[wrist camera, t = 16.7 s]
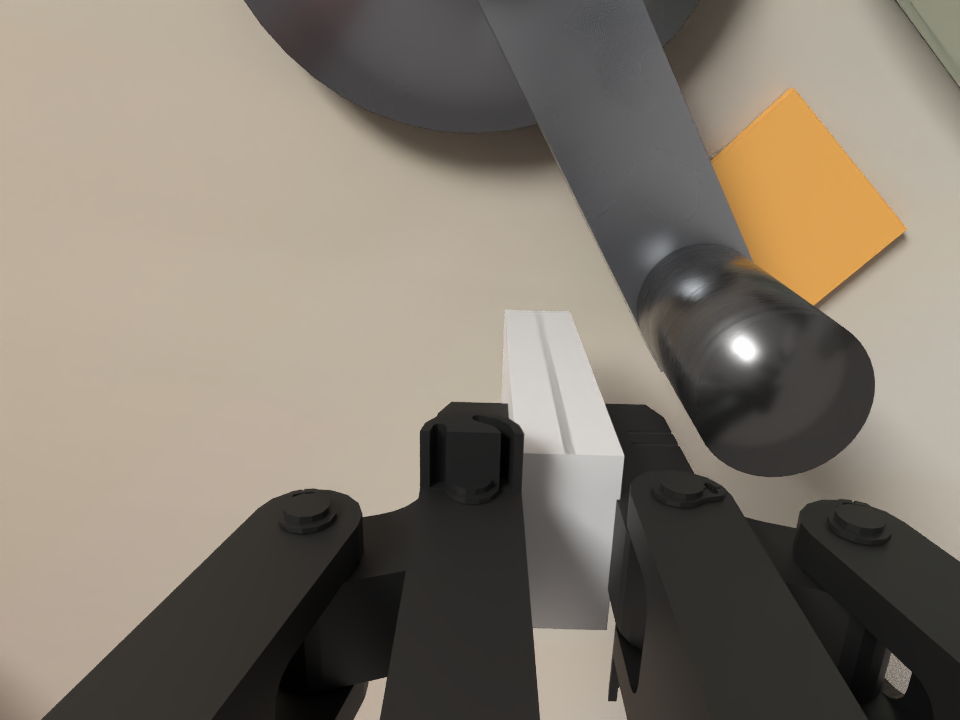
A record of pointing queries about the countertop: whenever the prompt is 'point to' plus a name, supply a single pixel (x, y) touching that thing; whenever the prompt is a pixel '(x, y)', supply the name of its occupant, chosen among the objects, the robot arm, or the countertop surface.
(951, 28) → the tray
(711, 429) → the crank
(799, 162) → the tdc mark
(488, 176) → the countertop surface
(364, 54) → the crank base
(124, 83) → the countertop surface
